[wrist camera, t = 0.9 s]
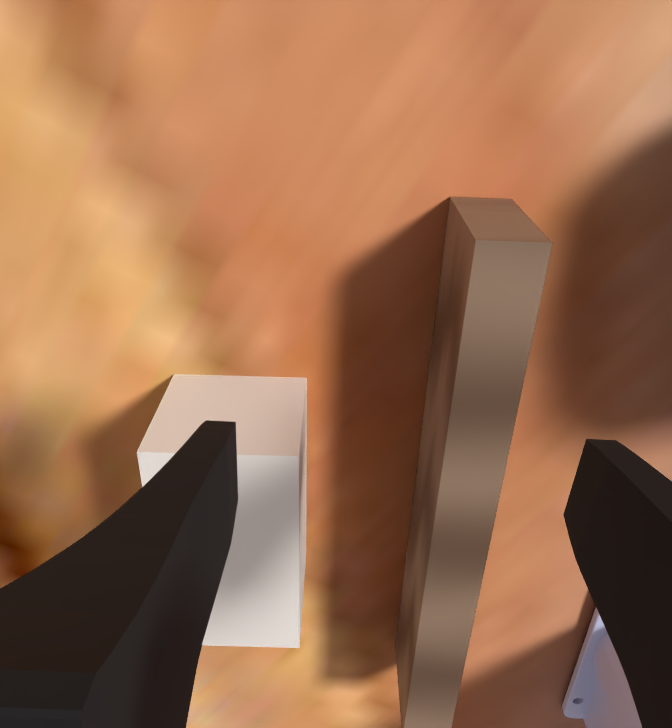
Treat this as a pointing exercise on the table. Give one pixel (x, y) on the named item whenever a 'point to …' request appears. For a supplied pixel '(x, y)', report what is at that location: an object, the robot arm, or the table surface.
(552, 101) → the table surface
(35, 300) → the table surface
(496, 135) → the table surface
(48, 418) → the table surface
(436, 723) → the board
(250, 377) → the block
